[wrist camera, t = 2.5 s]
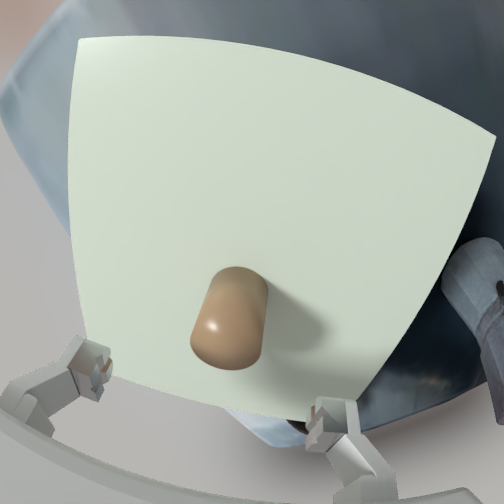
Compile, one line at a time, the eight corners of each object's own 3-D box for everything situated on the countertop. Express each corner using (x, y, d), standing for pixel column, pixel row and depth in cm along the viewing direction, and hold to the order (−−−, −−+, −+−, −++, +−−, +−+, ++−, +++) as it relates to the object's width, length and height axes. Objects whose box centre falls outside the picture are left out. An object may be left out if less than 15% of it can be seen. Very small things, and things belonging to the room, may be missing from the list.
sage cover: (408, 110, 21) (549, 158, 7) (327, 324, 33) (336, 467, 18) (170, 54, 21) (22, 35, 7) (147, 281, 33) (74, 404, 18)
